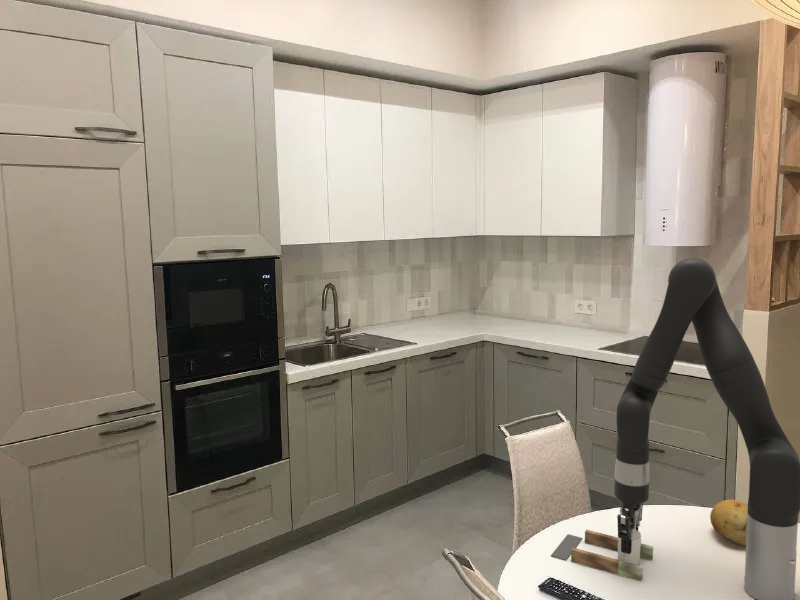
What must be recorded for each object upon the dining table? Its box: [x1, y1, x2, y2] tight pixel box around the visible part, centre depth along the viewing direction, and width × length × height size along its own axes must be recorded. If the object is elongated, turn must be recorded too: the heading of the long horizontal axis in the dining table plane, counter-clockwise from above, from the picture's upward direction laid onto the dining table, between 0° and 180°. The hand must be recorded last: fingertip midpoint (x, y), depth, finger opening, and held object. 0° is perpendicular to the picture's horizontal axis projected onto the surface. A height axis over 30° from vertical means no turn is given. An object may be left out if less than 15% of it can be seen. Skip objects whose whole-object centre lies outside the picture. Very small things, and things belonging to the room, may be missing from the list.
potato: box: [709, 499, 748, 546], centre depth 157 cm, size 10×12×10 cm
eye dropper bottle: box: [616, 523, 642, 565], centre depth 147 cm, size 4×6×12 cm
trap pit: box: [550, 533, 583, 562], centre depth 156 cm, size 4×12×1 cm, turn 146°
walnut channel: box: [570, 529, 654, 582], centre depth 149 cm, size 16×11×3 cm
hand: (629, 546), depth 147 cm, fingers closed on eye dropper bottle, 5 cm apart
